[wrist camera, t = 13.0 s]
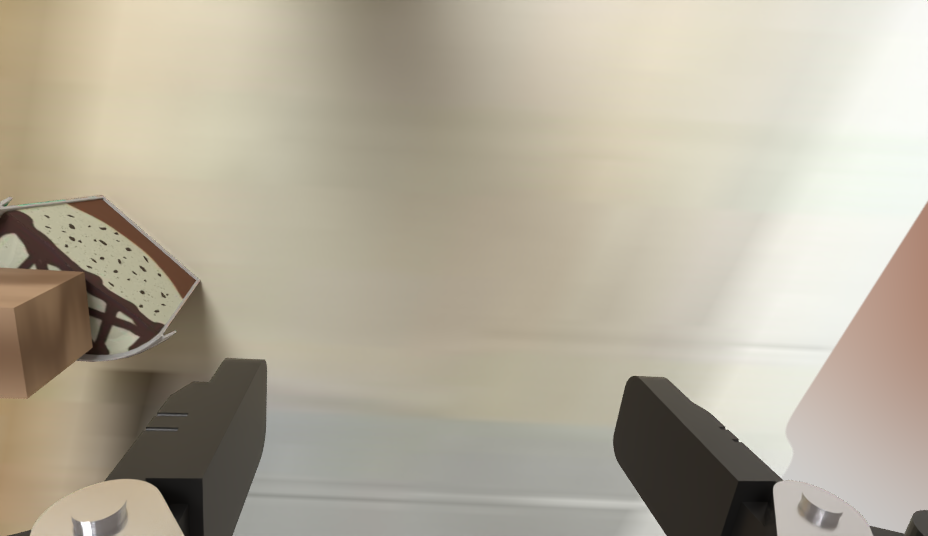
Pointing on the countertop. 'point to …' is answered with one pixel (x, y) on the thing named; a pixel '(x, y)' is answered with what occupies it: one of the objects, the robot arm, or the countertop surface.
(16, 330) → the walnut block
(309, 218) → the countertop surface
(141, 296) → the food container
